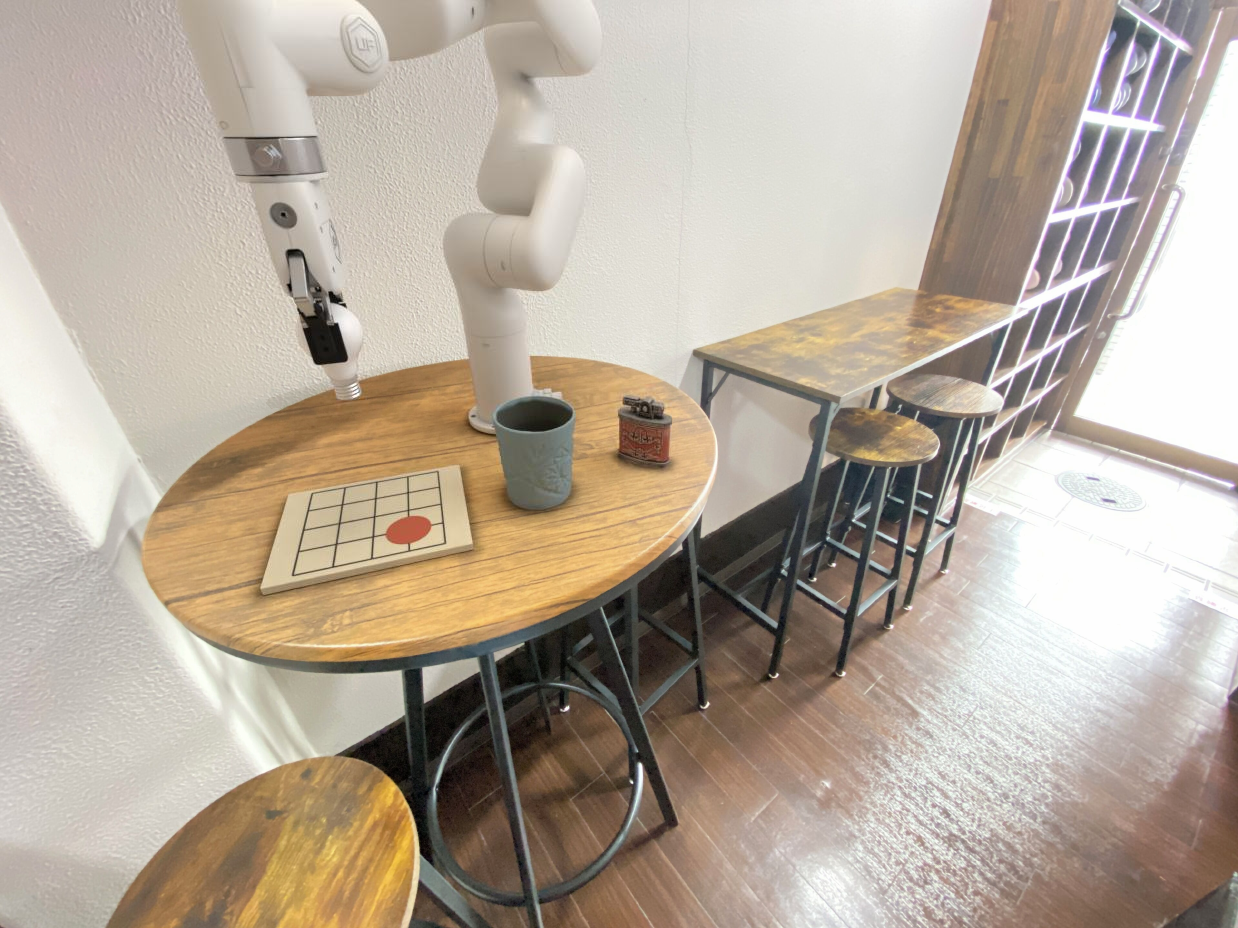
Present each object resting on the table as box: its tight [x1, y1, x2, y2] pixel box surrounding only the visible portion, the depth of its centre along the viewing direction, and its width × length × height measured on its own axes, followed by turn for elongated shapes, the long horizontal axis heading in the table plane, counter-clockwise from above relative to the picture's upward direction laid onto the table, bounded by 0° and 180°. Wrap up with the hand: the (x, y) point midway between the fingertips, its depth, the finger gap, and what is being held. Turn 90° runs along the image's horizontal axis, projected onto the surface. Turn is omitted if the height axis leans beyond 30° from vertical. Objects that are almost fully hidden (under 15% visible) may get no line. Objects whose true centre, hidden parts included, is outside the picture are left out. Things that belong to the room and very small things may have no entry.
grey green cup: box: [492, 396, 576, 511], centre depth 69 cm, size 10×10×12 cm
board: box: [259, 464, 474, 596], centre depth 66 cm, size 22×18×1 cm
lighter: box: [617, 394, 673, 469], centre depth 77 cm, size 8×3×10 cm, turn 65°
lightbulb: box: [295, 303, 365, 402], centre depth 58 cm, size 6×6×11 cm
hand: (335, 349), depth 58 cm, fingers closed on lightbulb, 6 cm apart
